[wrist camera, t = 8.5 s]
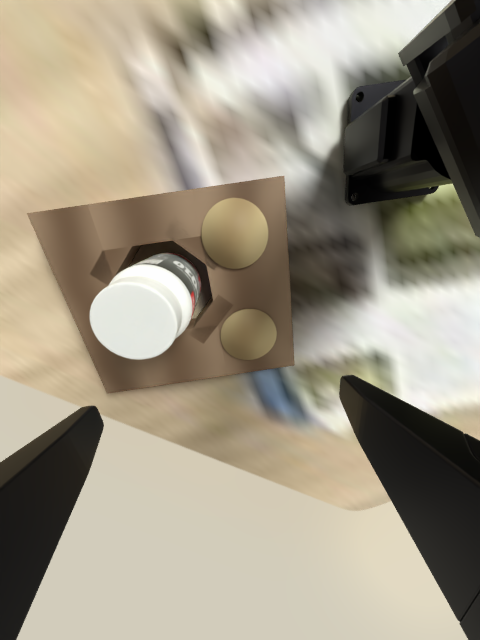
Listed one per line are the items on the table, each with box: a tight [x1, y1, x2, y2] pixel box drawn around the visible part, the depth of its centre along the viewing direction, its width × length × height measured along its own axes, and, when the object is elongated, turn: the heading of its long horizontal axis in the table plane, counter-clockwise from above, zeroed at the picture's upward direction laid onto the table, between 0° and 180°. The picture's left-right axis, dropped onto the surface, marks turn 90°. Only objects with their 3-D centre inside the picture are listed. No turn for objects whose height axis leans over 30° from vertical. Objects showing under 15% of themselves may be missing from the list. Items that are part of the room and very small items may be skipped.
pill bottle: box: [90, 253, 201, 360], centre depth 15 cm, size 5×5×8 cm
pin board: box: [27, 176, 294, 393], centre depth 18 cm, size 16×14×2 cm
